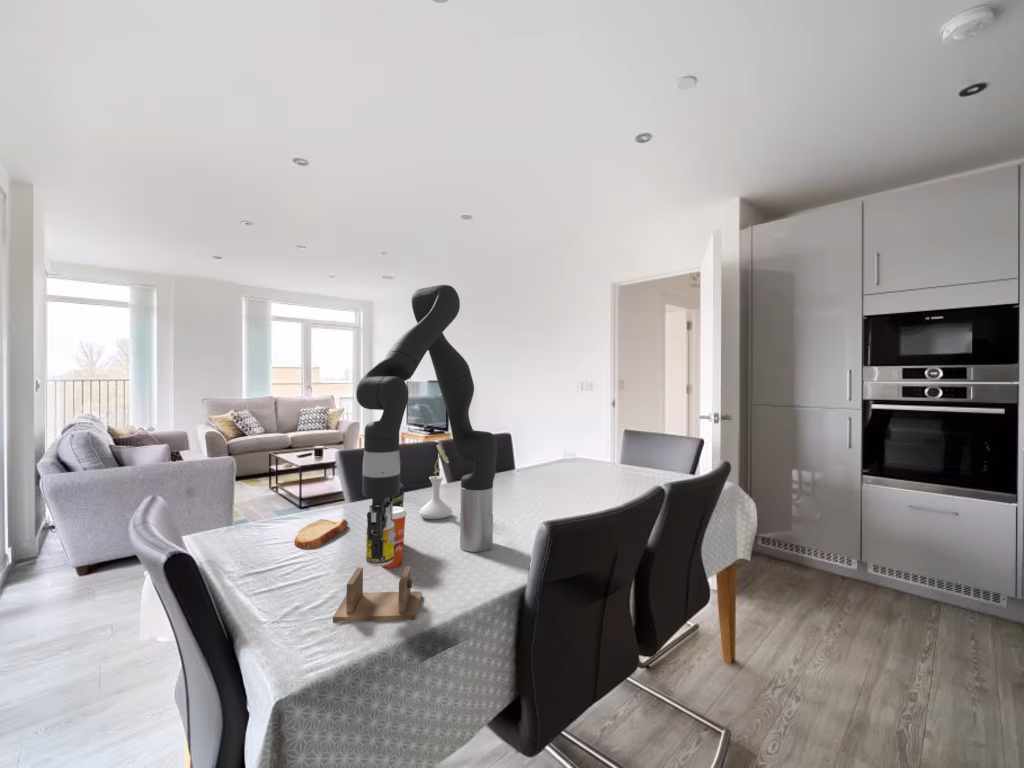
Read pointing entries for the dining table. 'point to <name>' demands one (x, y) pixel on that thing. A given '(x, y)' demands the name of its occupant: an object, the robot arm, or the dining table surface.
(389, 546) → the supplement bottle
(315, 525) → the slice of bread
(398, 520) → the paper cup
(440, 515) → the flower in vase
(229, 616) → the dining table surface
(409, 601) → the holder
